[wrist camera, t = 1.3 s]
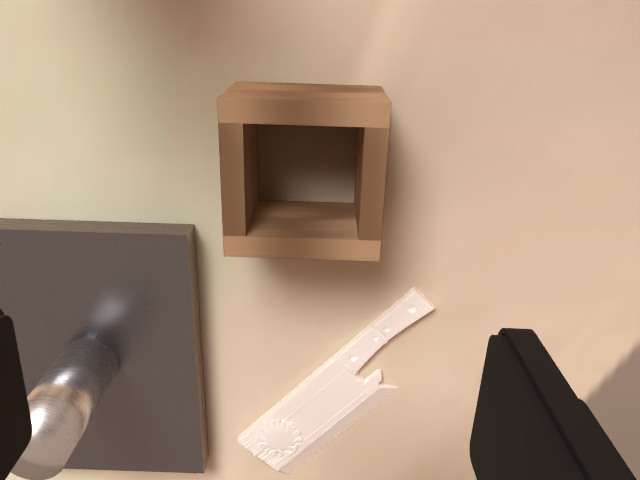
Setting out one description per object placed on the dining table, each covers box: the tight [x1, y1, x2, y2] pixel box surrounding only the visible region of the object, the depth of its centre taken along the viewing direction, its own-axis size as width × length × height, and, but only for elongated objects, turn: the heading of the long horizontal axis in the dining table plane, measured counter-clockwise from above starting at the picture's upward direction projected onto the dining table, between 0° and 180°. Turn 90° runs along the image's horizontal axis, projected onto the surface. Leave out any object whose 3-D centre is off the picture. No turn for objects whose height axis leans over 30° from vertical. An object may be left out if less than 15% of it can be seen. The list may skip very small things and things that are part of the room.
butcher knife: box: [238, 287, 435, 474], centre depth 34 cm, size 5×15×1 cm, turn 135°
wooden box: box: [217, 82, 391, 261], centre depth 26 cm, size 7×7×5 cm
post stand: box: [0, 218, 209, 480], centre depth 29 cm, size 12×16×8 cm
